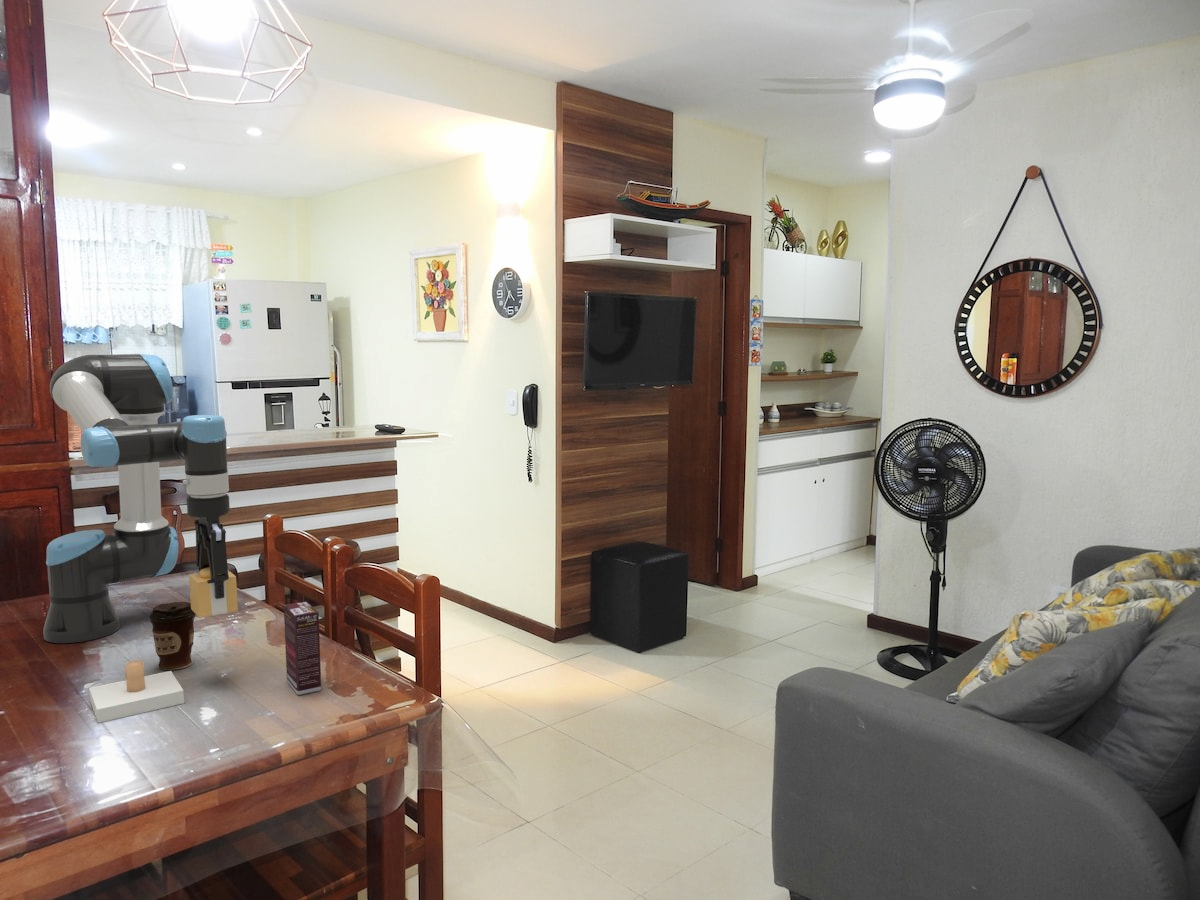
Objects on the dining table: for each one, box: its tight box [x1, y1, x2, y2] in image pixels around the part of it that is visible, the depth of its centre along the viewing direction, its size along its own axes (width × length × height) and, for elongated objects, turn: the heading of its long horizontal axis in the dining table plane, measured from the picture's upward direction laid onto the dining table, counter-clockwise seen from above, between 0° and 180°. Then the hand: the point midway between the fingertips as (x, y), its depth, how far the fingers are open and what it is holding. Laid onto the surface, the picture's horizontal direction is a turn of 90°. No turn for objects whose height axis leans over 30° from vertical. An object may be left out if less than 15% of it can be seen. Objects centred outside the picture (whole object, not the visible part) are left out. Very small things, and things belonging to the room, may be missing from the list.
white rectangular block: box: [88, 660, 185, 724], centre depth 157 cm, size 12×14×8 cm
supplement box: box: [283, 601, 322, 696], centre depth 164 cm, size 9×5×16 cm, turn 34°
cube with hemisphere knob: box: [188, 567, 239, 619], centre depth 166 cm, size 7×7×8 cm
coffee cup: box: [149, 601, 196, 671], centre depth 175 cm, size 9×8×13 cm
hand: (214, 608), depth 166 cm, fingers closed on cube with hemisphere knob, 7 cm apart
